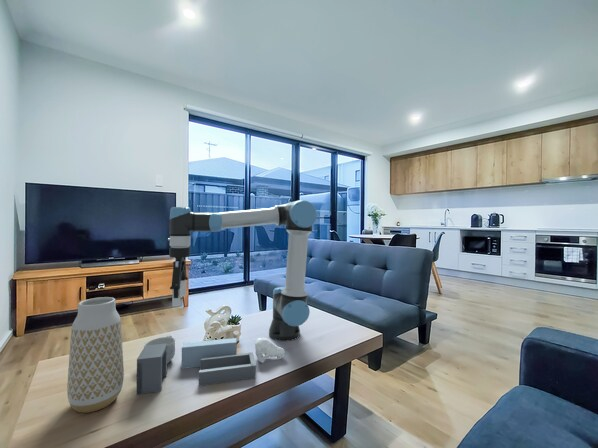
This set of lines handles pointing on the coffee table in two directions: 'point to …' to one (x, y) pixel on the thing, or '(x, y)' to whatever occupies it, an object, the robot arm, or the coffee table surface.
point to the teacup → (170, 345)
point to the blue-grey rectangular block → (206, 350)
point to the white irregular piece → (267, 349)
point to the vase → (95, 356)
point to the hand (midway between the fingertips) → (179, 301)
